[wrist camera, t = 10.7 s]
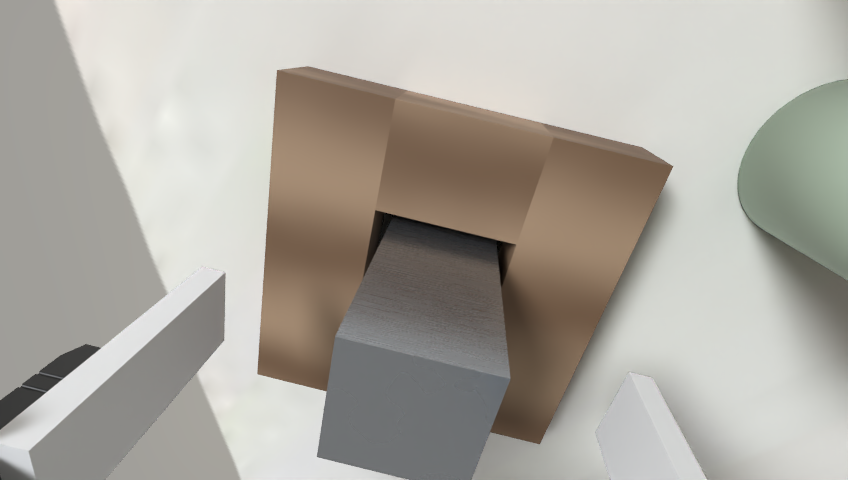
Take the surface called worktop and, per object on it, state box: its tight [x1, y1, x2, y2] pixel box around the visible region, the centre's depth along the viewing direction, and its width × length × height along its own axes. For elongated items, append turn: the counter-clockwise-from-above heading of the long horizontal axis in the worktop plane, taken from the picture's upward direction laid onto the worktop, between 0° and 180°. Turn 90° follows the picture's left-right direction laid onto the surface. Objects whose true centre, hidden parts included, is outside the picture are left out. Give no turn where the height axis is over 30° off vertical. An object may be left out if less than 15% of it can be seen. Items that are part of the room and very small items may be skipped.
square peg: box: [317, 215, 510, 480], centre depth 16 cm, size 4×4×10 cm
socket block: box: [257, 66, 673, 444], centre depth 19 cm, size 14×14×3 cm
